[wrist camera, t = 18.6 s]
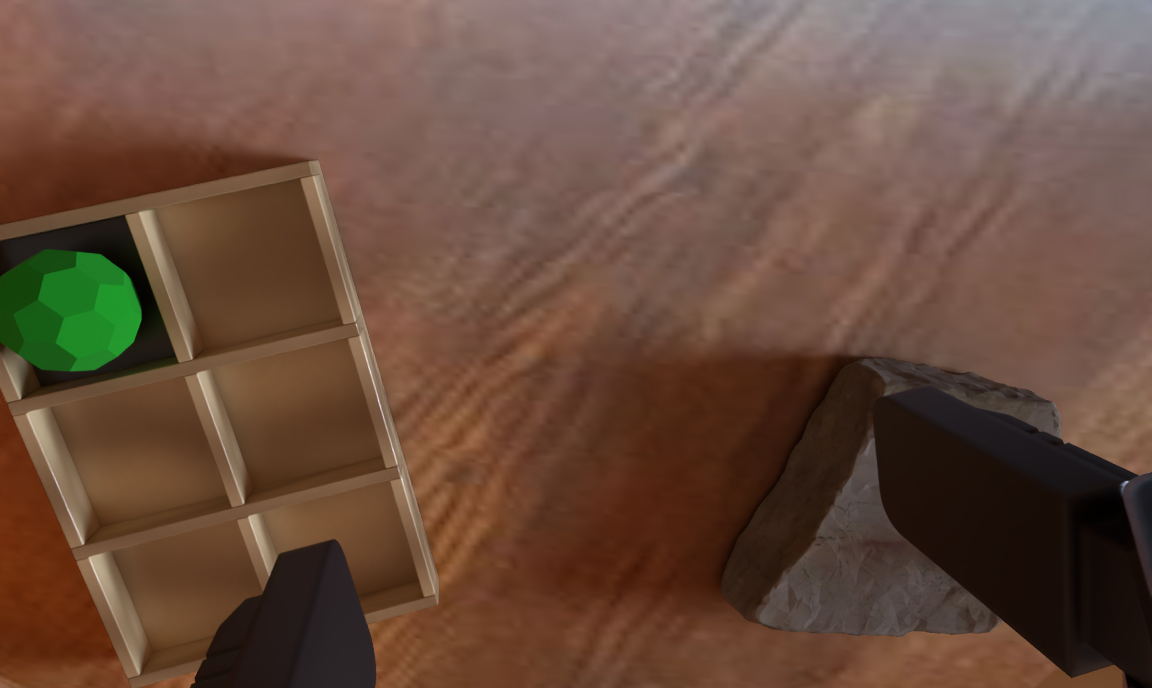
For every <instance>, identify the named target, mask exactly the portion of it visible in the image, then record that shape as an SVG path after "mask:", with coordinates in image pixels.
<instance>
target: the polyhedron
mask: <svg viewBox="0 0 1152 688" xmlns="http://www.w3.org/2000/svg"><path fill="white" fill-rule="evenodd" d="M141 320H142V313H141V302H140V299H139V296H138V294H137V291H136V288H135V286H134V283H133V281H132V280H131V279H130V277H129V276H128V275H127V274H126V273H125V272H124V271H123V270H121V269H120V268H119V267H117V266H116V265H115V264H113V263H112V262H110V261H109V260H108V259H106V258H105V257H104V256H102V255H101V254H94V253H84V252H74V251H62V250H51V249H44V250H42V251H40V252H39V253H37V254H35V255H33V256H32V257H30V258H28V259H27V260H25V261H23V262H21V263H20V264H18V265H17V266H15V267H14V268H12V269H11V270H9V271H8V272H6V273H5V274H3V275H2V276H1V277H0V343H2V344H3V345H5V346H6V347H8V348H9V349H11V350H12V351H14V352H15V353H16V354H18V355H19V356H21V357H23V358H24V359H26V360H27V361H29V362H30V363H32V364H33V365H35V366H37V367H38V368H40V369H41V370H55V371H87V370H96V369H97V368H99V367H101V366H103V365H104V364H106V363H108V362H109V361H111V360H113V359H114V358H116V357H118V356H119V355H120V354H121V353H122V352H123V351H124V350H125V349H127V348H128V347H129V346H130V345H131V344H132V343H133V342H134V340H135V337H136V334H137V331H138V328H139V325H140V323H141Z"/></svg>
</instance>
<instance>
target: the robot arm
mask: <svg viewBox="0 0 1152 688" xmlns="http://www.w3.org/2000/svg"><path fill="white" fill-rule="evenodd" d="M872 416H873V428H874V438H875V448H876V459H877V469H878V479H879V489H880V496H881V501H882V504H883V507H884V510H885V512H886V514H887V516H888V518H889V520H890V522H891V524H892V525H893V526H894V528H895V529H896V530H897V531H898V532H899V533H900V534H901V535H902V536H903V537H904V538H905V539H907V540H908V541H909V542H910V543H911V544H912V545H914V546H915V547H916V548H917V549H918V550H920V551H921V552H922V553H923V554H924V555H926V556H927V557H928V558H929V559H930V560H932V561H933V562H934V563H935V564H936V565H937V566H939V567H940V568H941V569H942V570H943V571H945V572H946V573H947V574H948V575H949V576H951V577H952V578H953V579H954V580H955V581H957V582H958V583H959V584H960V585H961V586H962V587H964V588H965V589H966V590H967V591H968V592H970V593H971V594H972V595H973V596H974V597H976V598H977V599H978V600H979V601H980V602H982V603H983V604H984V605H985V606H986V607H987V608H989V609H990V610H991V611H992V612H993V613H995V614H996V615H997V616H998V617H999V618H1001V619H1002V620H1003V621H1004V622H1005V623H1007V624H1008V625H1009V626H1010V627H1011V628H1012V629H1014V630H1015V631H1016V632H1017V633H1018V634H1020V635H1021V636H1022V637H1023V638H1024V639H1026V640H1027V641H1028V642H1029V643H1030V644H1032V645H1033V646H1034V647H1035V648H1036V649H1037V650H1039V651H1040V652H1041V653H1042V654H1043V655H1045V656H1046V657H1047V658H1048V659H1049V660H1051V661H1052V662H1053V663H1054V664H1055V665H1057V666H1058V667H1059V668H1060V669H1061V670H1062V671H1064V672H1065V673H1066V674H1067V675H1068V676H1070V677H1071V678H1073V677H1076V676H1079V675H1082V674H1086V673H1089V672H1092V671H1095V670H1098V669H1101V668H1105V667H1108V666H1111V665H1116V666H1117V667H1118V668H1120V669H1121V670H1122V674H1123V675H1122V688H1152V472H1150V473H1146V474H1143V475H1140V476H1139V475H1137V474H1134V473H1132V472H1130V471H1128V470H1126V469H1124V468H1122V467H1120V466H1117V465H1115V464H1113V463H1111V462H1109V461H1107V460H1105V459H1102V458H1100V457H1098V456H1096V455H1094V454H1092V453H1090V452H1087V451H1085V450H1083V449H1081V448H1079V447H1077V446H1075V445H1072V444H1070V443H1066V444H1064V443H1063V440H1062V439H1060V438H1058V437H1055V436H1053V435H1051V434H1049V433H1047V432H1045V431H1043V432H1039V430H1038V428H1036V427H1034V426H1032V425H1030V424H1028V423H1025V422H1023V421H1021V420H1019V419H1017V418H1015V417H1013V416H1010V415H1008V414H1003V413H999V412H994V411H989V410H985V409H980V408H976V407H974V406H972V405H969V404H967V403H965V402H963V401H961V400H959V399H957V398H955V397H953V396H951V395H949V394H947V393H945V392H943V391H940V390H938V389H936V388H934V387H932V386H929V385H925V386H921V387H917V388H913V389H909V390H905V391H902V392H898V393H894V394H890V395H886V396H882V397H879V398H878V399H877V400H876V401H875V403H874V405H873V412H872ZM375 684H376V663H375V654H374V648H373V643H372V639H371V635H370V632H369V628H368V625H367V622H366V619H365V616H364V613H363V610H362V607H361V604H360V601H359V597H358V594H357V591H356V588H355V585H354V582H353V579H352V576H351V573H350V570H349V567H348V564H347V560H346V557H345V555H344V552H343V550H342V547H341V545H340V544H339V542H338V541H337V540H336V539H332V540H328V541H324V542H320V543H316V544H313V545H309V546H305V547H301V548H297V549H294V550H290V551H286V552H282V553H280V554H279V555H278V557H277V559H276V562H275V564H274V566H273V569H272V571H271V574H270V576H269V579H268V581H267V584H266V586H265V589H264V591H263V594H262V595H259V596H255V597H251V598H247V599H245V600H244V601H243V602H242V603H241V604H240V605H239V606H238V607H237V608H236V609H235V610H234V611H233V612H232V613H231V615H230V616H229V617H228V618H227V619H226V620H225V621H224V622H223V623H222V624H221V625H220V626H219V627H218V629H217V631H216V633H215V636H214V638H213V640H212V642H211V644H210V646H209V648H208V650H207V653H206V659H205V660H203V661H202V663H201V665H200V667H199V670H198V672H197V674H196V676H195V683H194V684H191V687H190V688H375Z"/></svg>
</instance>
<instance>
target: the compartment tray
mask: <svg viewBox="0 0 1152 688" xmlns="http://www.w3.org/2000/svg"><path fill="white" fill-rule="evenodd" d="M44 249H51V250H62V251H74V252H84V253H94V254H101V255H102V256H104V257H105V258H106V259H108V260H109V261H110V262H112V263H113V264H115V265H116V266H117V267H119V268H120V269H121V270H123V271H124V272H125V273H126V274H127V275H128V276H129V277H130V279H131V280H132V281H133V283H134V286H135V288H136V291H137V294H138V296H139V299H140V302H141V313H142V320H141V323H140V325H139V328H138V331H137V334H136V337H135V340H134V342H133V343H132V344H131V345H130V346H129V347H128V348H127V349H125V350H124V351H123V352H122V353H121V354H120V355H119V356H118V357H116V358H114V359H113V360H111V361H109V362H108V363H106V364H104V365H103V366H101V367H99V368H97V369H96V370H87V371H55V370H41V369H40V368H38V367H37V366H35V365H33V364H32V363H30V362H29V361H27V360H26V359H24V358H23V357H21V356H19V355H18V354H16V353H15V352H14V351H12V350H11V349H9V348H8V347H6V346H5V345H3V344H2V343H0V389H1V392H2V394H3V396H4V398H5V401H6V402H8V403H7V405H8V407H9V410H10V412H11V414H12V415H14V416H13V419H14V421H15V423H16V426H17V428H18V430H19V433H20V435H21V437H22V439H23V442H24V444H25V446H26V448H27V451H28V453H29V455H30V458H31V460H32V462H33V464H34V467H35V469H36V471H37V474H38V476H39V478H40V480H41V483H42V485H43V487H44V490H45V492H46V494H47V496H48V499H49V501H50V503H51V506H52V508H53V510H54V512H55V515H56V517H57V519H58V522H59V524H60V526H61V528H62V531H63V533H64V535H65V537H66V540H67V542H68V544H69V547H70V548H71V551H72V554H73V556H74V558H75V560H76V563H77V565H78V567H79V569H80V572H81V574H82V576H83V579H84V581H85V583H86V585H87V588H88V590H89V592H90V595H91V597H92V599H93V601H94V604H95V606H96V608H97V611H98V613H99V615H100V617H101V620H102V622H103V624H104V627H105V629H106V631H107V633H108V636H109V638H110V640H111V642H112V645H113V647H114V649H115V652H116V654H117V656H118V658H119V661H120V663H121V665H122V668H123V670H124V672H125V674H126V677H127V678H128V681H129V684H130V686H131V688H138V687H141V686H145V685H149V684H152V683H156V682H159V681H163V680H167V679H170V678H174V677H178V676H181V675H185V674H188V673H192V672H196V671H198V670H199V667H200V665H201V663H202V661H203V660H205V659H206V653H207V650H208V648H209V646H210V644H211V642H212V640H213V638H214V636H215V633H216V631H217V629H218V627H219V626H220V625H221V624H222V623H223V622H224V621H225V620H226V619H227V618H228V617H229V616H230V615H231V613H232V612H233V611H234V610H235V609H236V608H237V607H238V606H239V605H240V604H241V603H242V602H243V601H244V600H245V599H247V598H251V597H255V596H259V595H262V594H263V591H264V589H265V586H266V584H267V581H268V579H269V576H270V574H271V571H272V569H273V566H274V564H275V562H276V559H277V557H278V555H279V554H280V553H282V552H286V551H290V550H294V549H297V548H301V547H305V546H309V545H313V544H316V543H320V542H324V541H328V540H332V539H336V540H337V541H338V542H339V544H340V545H341V547H342V550H343V552H344V555H345V557H346V560H347V564H348V567H349V570H350V573H351V576H352V579H353V582H354V585H355V588H356V591H357V594H358V597H359V601H360V604H361V607H362V610H363V613H364V616H365V619H366V622H367V624H370V623H374V622H377V621H381V620H384V619H388V618H392V617H395V616H399V615H403V614H406V613H410V612H413V611H417V610H421V609H424V608H428V607H432V606H435V605H438V592H439V578H438V574H437V571H436V567H435V564H434V560H433V557H432V553H431V550H430V546H429V543H428V539H427V536H426V533H425V529H424V526H423V522H422V519H421V515H420V512H419V508H418V505H417V501H416V498H415V494H414V491H413V487H412V484H411V480H410V477H409V473H408V470H407V467H406V463H405V460H404V456H403V453H402V449H401V446H400V442H399V439H398V435H397V432H396V428H395V425H394V421H393V418H392V414H391V411H390V407H389V404H388V400H387V397H386V394H385V390H384V387H383V383H382V380H381V376H380V373H379V369H378V366H377V362H376V359H375V355H374V352H373V348H372V345H371V341H370V338H369V334H368V331H367V328H366V324H365V321H364V317H363V314H362V310H361V307H360V303H359V300H358V296H357V293H356V289H355V286H354V282H353V279H352V275H351V272H350V268H349V265H348V262H347V258H346V255H345V251H344V248H343V244H342V241H341V237H340V234H339V230H338V227H337V223H336V220H335V216H334V213H333V209H332V206H331V202H330V199H329V196H328V192H327V189H326V185H325V182H324V178H323V175H322V171H321V168H320V164H319V161H318V160H312V161H305V162H300V163H295V164H290V165H285V166H280V167H276V168H271V169H266V170H261V171H256V172H251V173H247V174H242V175H237V176H232V177H227V178H222V179H218V180H213V181H208V182H203V183H198V184H193V185H188V186H184V187H179V188H174V189H169V190H164V191H159V192H155V193H150V194H145V195H140V196H135V197H130V198H126V199H121V200H116V201H111V202H106V203H101V204H96V205H92V206H87V207H82V208H77V209H72V210H67V211H63V212H58V213H53V214H48V215H43V216H38V217H34V218H29V219H24V220H19V221H14V222H9V223H4V224H0V277H1V276H2V275H3V274H5V273H6V272H8V271H9V270H11V269H12V268H14V267H15V266H17V265H18V264H20V263H21V262H23V261H25V260H27V259H28V258H30V257H32V256H33V255H35V254H37V253H39V252H40V251H42V250H44Z"/></svg>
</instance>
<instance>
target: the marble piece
mask: <svg viewBox="0 0 1152 688" xmlns="http://www.w3.org/2000/svg"><path fill="white" fill-rule="evenodd" d="M925 385H929V386H932V387H934V388H936V389H938V390H940V391H943V392H945V393H947V394H949V395H951V396H953V397H955V398H957V399H959V400H961V401H963V402H965V403H967V404H969V405H972V406H974V407H976V408H980V409H985V410H989V411H994V412H999V413H1003V414H1008V415H1010V416H1013V417H1015V418H1017V419H1019V420H1021V421H1023V422H1025V423H1028V424H1030V425H1032V426H1034V427H1036V428H1038V430H1039V432H1043V431H1045V432H1047V433H1049V434H1051V435H1053V436H1055V437H1058V438H1060V439H1061V420H1060V415H1059V413H1058V410H1057V408H1056V405H1055V403H1053V402H1052V401H1049V400H1045V399H1043V398H1041V397H1040V396H1038V395H1037V394H1035V393H1034V392H1032V391H1030V390H1027V389H1020V388H1016V387H1011V386H1008V385H1005V384H1001V383H997V382H994V381H991V380H988V379H986V378H983V377H981V376H979V375H977V374H975V373H973V372H967V373H962V374H956V375H953V374H950V373H947V372H943V371H941V370H939V369H938V368H935V367H931V366H928V365H926V364H918V365H917V364H912V363H907V362H903V361H897V360H895V359H883V358H872V357H870V358H867V359H858V360H857V361H855V362H854V363H850V364H846V365H845V366H844V367H843V368H842V369H841V370H840V371H839V373H838V374H837V376H836V378H835V380H834V382H833V383H832V385H831V386H830V389H829V391H828V393H827V395H826V396H825V398H824V399H823V401H822V403H821V404H820V405H819V406H818V407H817V408H816V409H815V411H814V412H813V414H812V416H811V417H810V419H809V421H808V423H807V426H806V429H805V432H804V434H803V437H802V439H801V441H800V442H799V443H798V444H797V445H796V446H795V448H794V450H793V451H792V452H791V454H790V456H789V459H788V462H787V465H786V469H785V471H784V473H783V474H782V475H781V477H780V479H779V481H778V482H777V484H776V485H775V487H774V488H773V489H772V491H771V492H770V493H769V495H768V496H767V497H766V498H765V499H764V500H763V502H762V503H761V504H760V506H759V508H758V509H757V510H756V512H755V514H754V516H753V517H752V519H751V521H750V523H749V525H748V526H747V527H746V528H745V530H744V531H743V532H742V533H741V535H740V536H739V537H738V539H737V541H736V544H735V546H734V549H733V551H732V554H731V556H730V558H729V560H728V562H727V566H726V568H725V570H724V573H723V578H722V582H721V592H722V594H723V596H724V598H725V599H726V600H727V601H728V602H729V603H730V604H731V605H732V606H733V607H734V608H735V609H736V610H737V611H738V612H739V613H741V615H742V616H743V617H744V618H745V619H747V620H748V621H751V622H755V623H758V624H761V625H763V626H766V627H768V628H771V629H775V630H781V631H791V632H801V631H806V632H811V633H844V634H849V635H855V636H861V635H876V636H879V635H889V636H896V637H899V636H904V635H905V634H906V633H908V632H911V631H926V632H929V633H939V634H940V633H945V634H951V635H953V634H965V633H986V632H990V631H991V630H993V629H994V628H995V627H997V626H998V625H999V624H1000V622H1001V621H1002V619H1001V618H999V617H998V616H997V615H996V614H995V613H993V612H992V611H991V610H990V609H989V608H987V607H986V606H985V605H984V604H983V603H982V602H980V601H979V600H978V599H977V598H976V597H974V596H973V595H972V594H971V593H970V592H968V591H967V590H966V589H965V588H964V587H962V586H961V585H960V584H959V583H958V582H957V581H955V580H954V579H953V578H952V577H951V576H949V575H948V574H947V573H946V572H945V571H943V570H942V569H941V568H940V567H939V566H937V565H936V564H935V563H934V562H933V561H932V560H930V559H929V558H928V557H927V556H926V555H924V554H923V553H922V552H921V551H920V550H918V549H917V548H916V547H915V546H914V545H912V544H911V543H910V542H909V541H908V540H907V539H905V538H904V537H903V536H902V535H901V534H900V533H899V532H898V531H897V530H896V529H895V528H894V526H893V525H892V524H891V522H890V520H889V518H888V516H887V514H886V512H885V510H884V507H883V504H882V501H881V496H880V489H879V479H878V469H877V459H876V448H875V438H874V428H873V416H872V412H873V405H874V403H875V401H876V400H877V399H878V398H879V397H882V396H886V395H890V394H894V393H898V392H902V391H905V390H909V389H913V388H917V387H921V386H925Z"/></svg>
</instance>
